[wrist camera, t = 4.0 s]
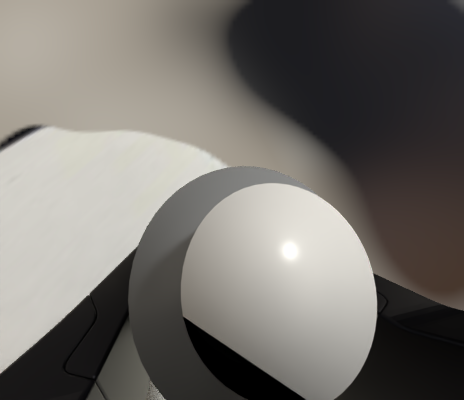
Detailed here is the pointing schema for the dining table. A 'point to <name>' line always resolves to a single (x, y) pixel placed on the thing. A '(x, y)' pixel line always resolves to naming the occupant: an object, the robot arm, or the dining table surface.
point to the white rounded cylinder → (251, 292)
